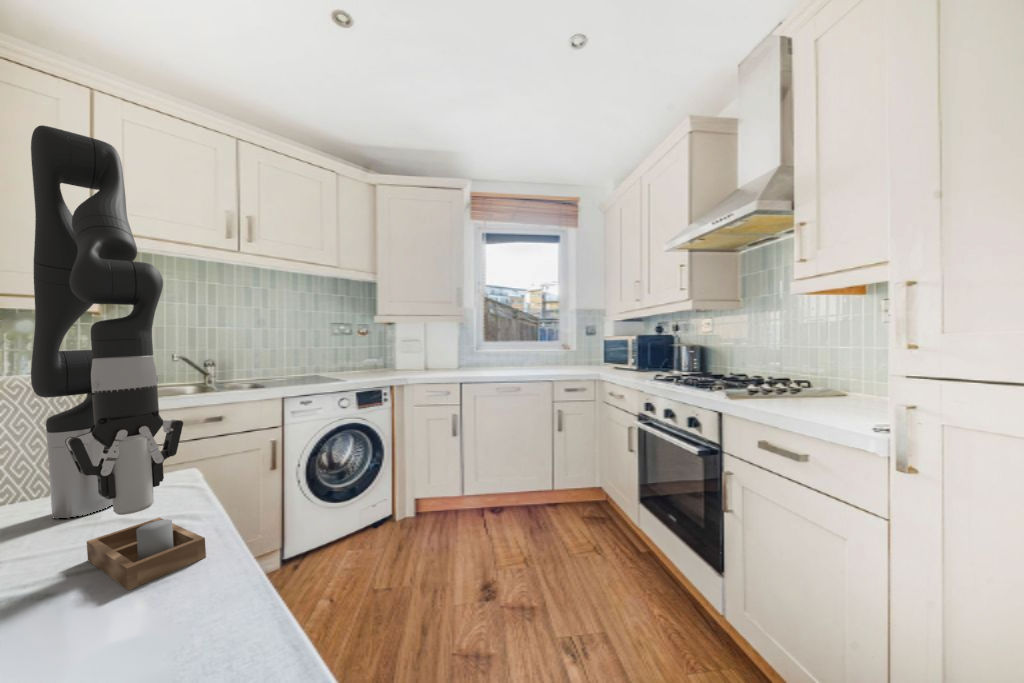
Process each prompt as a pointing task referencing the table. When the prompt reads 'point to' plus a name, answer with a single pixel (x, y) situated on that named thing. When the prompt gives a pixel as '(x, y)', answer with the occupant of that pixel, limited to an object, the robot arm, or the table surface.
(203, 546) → the rack
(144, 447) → the beverage can
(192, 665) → the table surface
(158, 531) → the stub
